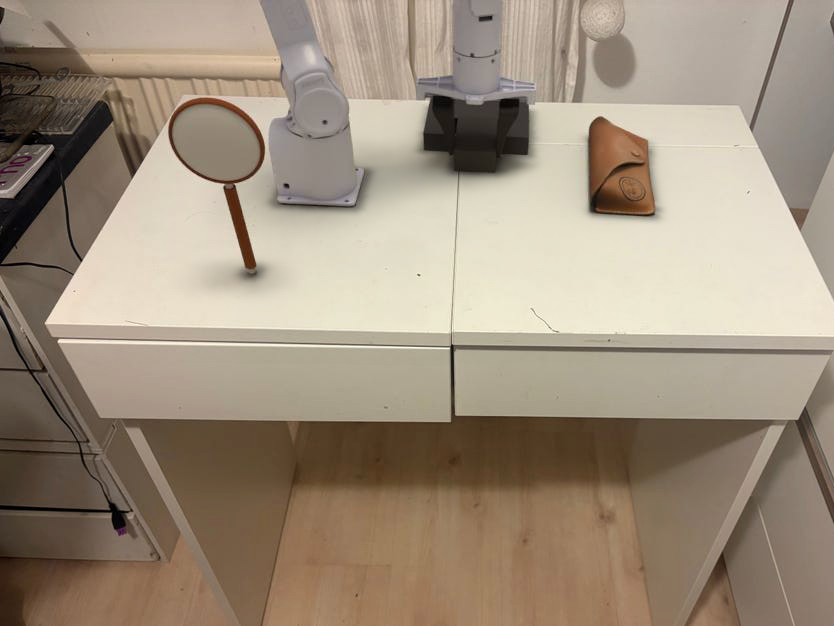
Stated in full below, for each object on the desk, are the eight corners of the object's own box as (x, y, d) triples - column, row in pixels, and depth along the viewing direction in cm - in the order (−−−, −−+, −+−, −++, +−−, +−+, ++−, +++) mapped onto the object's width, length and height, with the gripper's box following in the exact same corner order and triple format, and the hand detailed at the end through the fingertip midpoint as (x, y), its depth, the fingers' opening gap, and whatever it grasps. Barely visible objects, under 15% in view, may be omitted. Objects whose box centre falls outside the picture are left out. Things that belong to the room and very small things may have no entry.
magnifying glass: (293, 268, 78) (256, 94, 64) (291, 278, 77) (252, 103, 62) (214, 267, 78) (159, 92, 63) (210, 277, 77) (153, 102, 62)
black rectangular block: (453, 171, 92) (453, 150, 90) (458, 136, 99) (458, 115, 96) (495, 173, 92) (495, 152, 90) (497, 137, 99) (497, 117, 96)
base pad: (423, 150, 96) (423, 133, 94) (431, 108, 104) (431, 92, 102) (527, 154, 96) (529, 137, 94) (527, 112, 103) (528, 96, 102)
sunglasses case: (660, 213, 86) (640, 169, 82) (605, 234, 89) (584, 193, 85) (648, 138, 98) (630, 96, 94) (600, 158, 101) (581, 119, 97)
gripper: (410, 59, 80) (416, 166, 90) (539, 64, 80) (530, 171, 90) (417, 33, 85) (421, 137, 95) (538, 38, 85) (530, 142, 95)
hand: (475, 152), depth 93 cm, fingers closed on black rectangular block, 5 cm apart
